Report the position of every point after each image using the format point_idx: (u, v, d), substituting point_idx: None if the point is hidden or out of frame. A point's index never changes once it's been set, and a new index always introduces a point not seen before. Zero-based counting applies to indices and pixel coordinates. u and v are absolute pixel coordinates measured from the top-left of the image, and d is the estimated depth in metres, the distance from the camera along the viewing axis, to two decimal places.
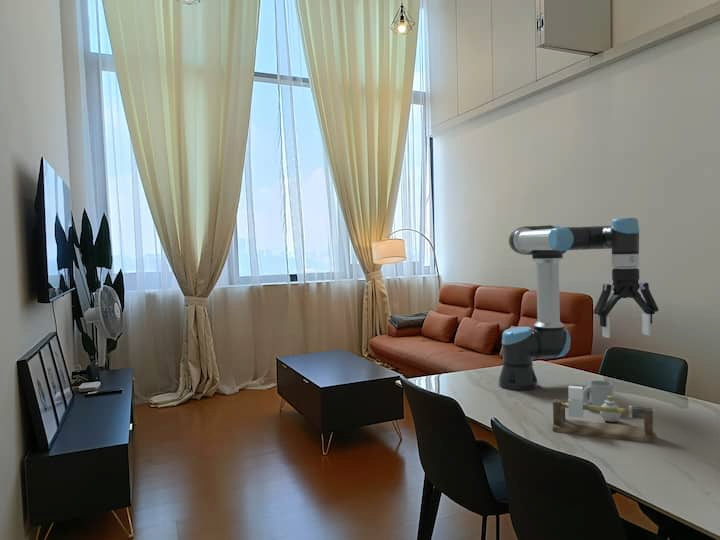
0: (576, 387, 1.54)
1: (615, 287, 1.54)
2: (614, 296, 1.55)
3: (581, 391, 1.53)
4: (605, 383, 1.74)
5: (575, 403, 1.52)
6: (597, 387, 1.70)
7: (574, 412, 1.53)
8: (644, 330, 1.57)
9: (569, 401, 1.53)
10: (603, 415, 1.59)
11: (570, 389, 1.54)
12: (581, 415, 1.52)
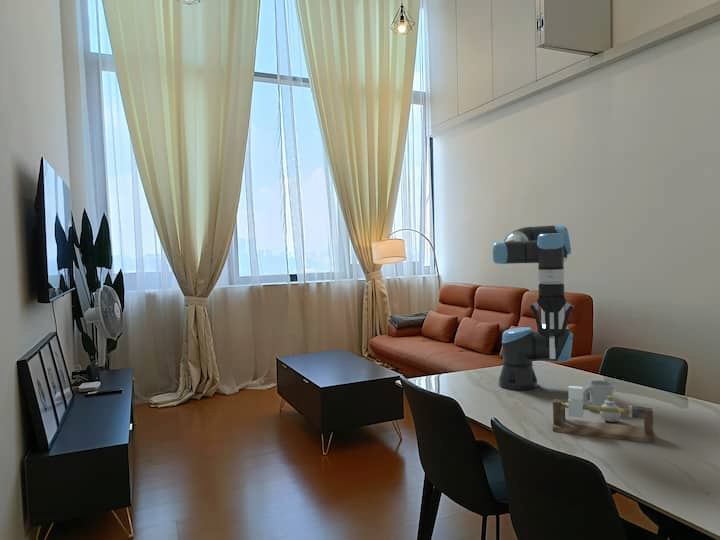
0: (576, 387, 1.54)
1: (538, 303, 1.57)
2: None
3: (581, 391, 1.53)
4: (605, 383, 1.74)
5: (575, 403, 1.52)
6: (597, 387, 1.70)
7: (574, 412, 1.53)
8: None
9: (569, 401, 1.53)
10: (603, 415, 1.59)
11: (570, 389, 1.54)
12: (581, 415, 1.52)
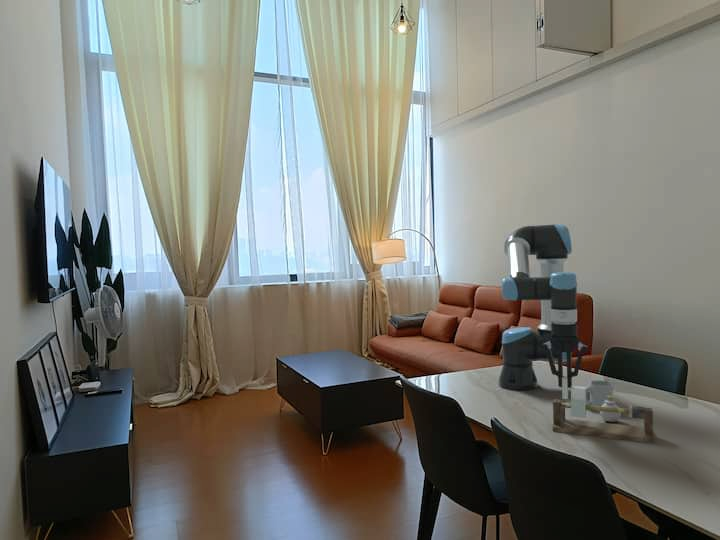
0: (579, 387, 1.54)
1: (551, 342, 1.56)
2: None
3: (584, 391, 1.52)
4: (605, 383, 1.74)
5: (578, 403, 1.52)
6: (597, 387, 1.70)
7: (577, 412, 1.52)
8: None
9: (572, 401, 1.53)
10: (603, 415, 1.59)
11: (573, 389, 1.54)
12: (584, 415, 1.51)
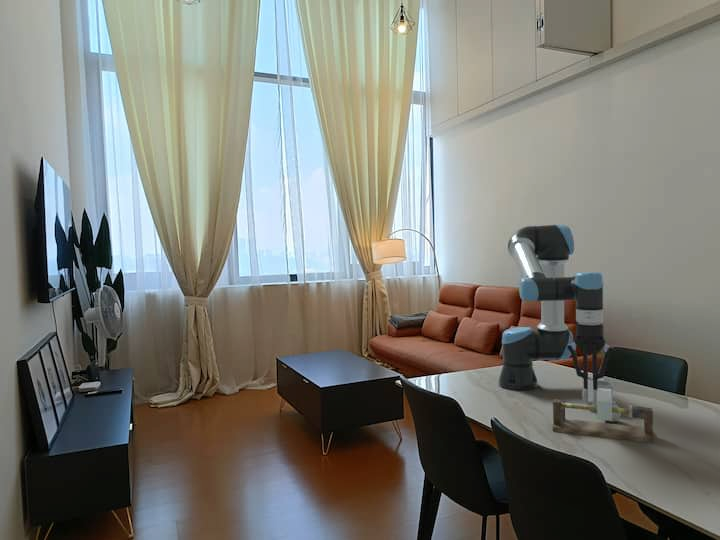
0: (605, 389, 1.51)
1: (576, 344, 1.53)
2: None
3: (610, 393, 1.49)
4: (605, 383, 1.74)
5: (604, 406, 1.49)
6: (597, 387, 1.70)
7: (603, 415, 1.49)
8: None
9: (598, 404, 1.50)
10: None
11: (598, 391, 1.50)
12: (610, 418, 1.48)
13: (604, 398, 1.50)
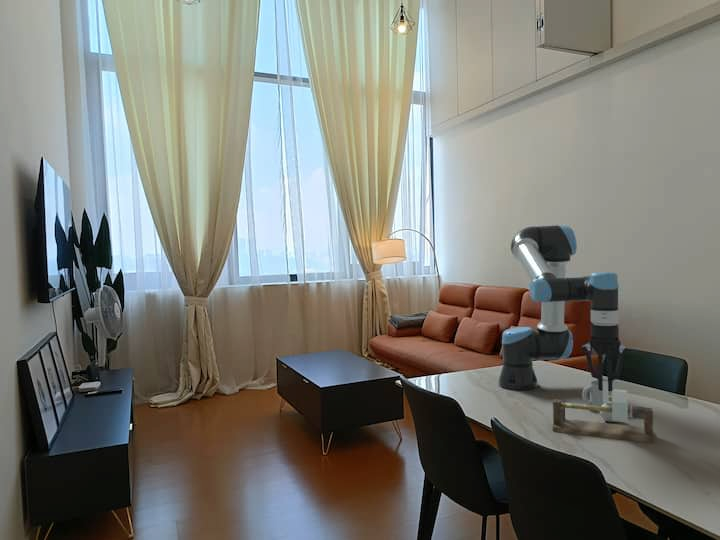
0: (620, 391, 1.49)
1: (591, 344, 1.51)
2: None
3: (626, 395, 1.47)
4: None
5: (619, 407, 1.47)
6: (597, 387, 1.70)
7: (618, 417, 1.47)
8: None
9: (613, 405, 1.48)
10: (603, 415, 1.59)
11: (614, 393, 1.49)
12: (626, 420, 1.47)
13: (619, 399, 1.48)
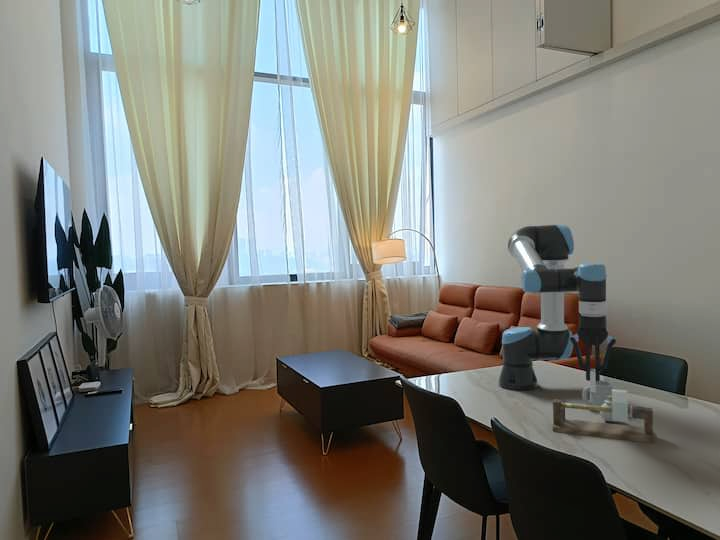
0: (620, 391, 1.49)
1: (579, 335, 1.52)
2: None
3: (626, 395, 1.47)
4: (605, 383, 1.74)
5: (619, 407, 1.47)
6: (597, 387, 1.70)
7: (618, 417, 1.47)
8: None
9: (613, 405, 1.48)
10: (603, 415, 1.59)
11: (614, 393, 1.49)
12: (626, 420, 1.47)
13: (619, 399, 1.48)
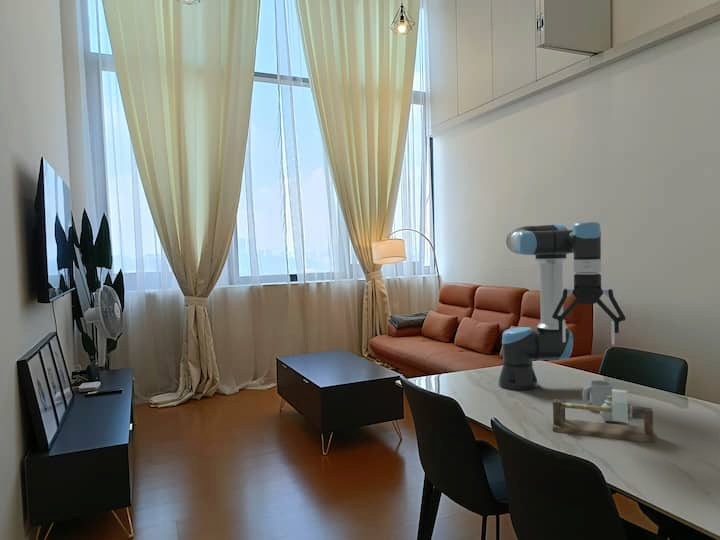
0: (620, 391, 1.49)
1: (573, 292, 1.53)
2: (573, 301, 1.54)
3: (626, 395, 1.47)
4: (605, 383, 1.74)
5: (619, 407, 1.47)
6: (597, 387, 1.70)
7: (618, 417, 1.47)
8: None
9: (613, 405, 1.48)
10: (603, 415, 1.59)
11: (614, 393, 1.49)
12: (626, 420, 1.47)
13: (619, 399, 1.48)
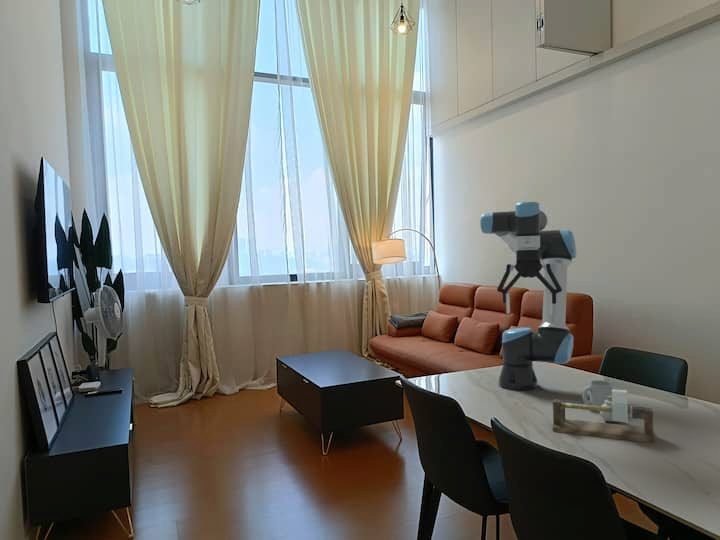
0: (620, 391, 1.49)
1: (515, 267, 1.66)
2: None
3: (626, 395, 1.47)
4: (605, 383, 1.74)
5: (619, 407, 1.47)
6: (597, 387, 1.70)
7: (618, 417, 1.47)
8: None
9: (613, 405, 1.48)
10: (603, 415, 1.59)
11: (614, 393, 1.49)
12: (626, 420, 1.47)
13: (619, 399, 1.48)
